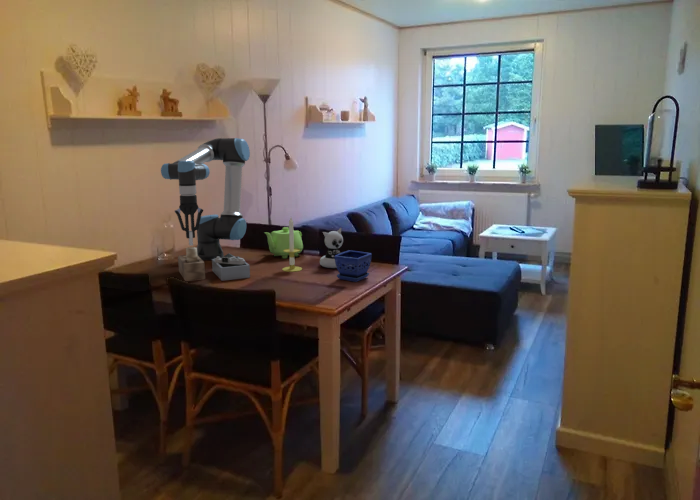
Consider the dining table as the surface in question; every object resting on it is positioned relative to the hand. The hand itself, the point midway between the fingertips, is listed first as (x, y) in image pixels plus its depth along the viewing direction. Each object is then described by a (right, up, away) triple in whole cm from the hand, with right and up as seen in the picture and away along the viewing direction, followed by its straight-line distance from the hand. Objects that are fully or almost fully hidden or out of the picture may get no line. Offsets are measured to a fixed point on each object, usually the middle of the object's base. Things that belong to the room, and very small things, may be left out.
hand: (191, 244), depth 260 cm
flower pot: (+76, -16, +1) cm, 78 cm away
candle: (+46, -12, +18) cm, 51 cm away
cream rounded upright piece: (0, -9, +2) cm, 9 cm away
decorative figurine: (+66, -11, +25) cm, 72 cm away
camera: (+17, -14, +10) cm, 24 cm away
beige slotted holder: (-2, -15, +7) cm, 16 cm away
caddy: (+17, -14, +9) cm, 24 cm away
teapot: (+36, -6, +49) cm, 61 cm away
